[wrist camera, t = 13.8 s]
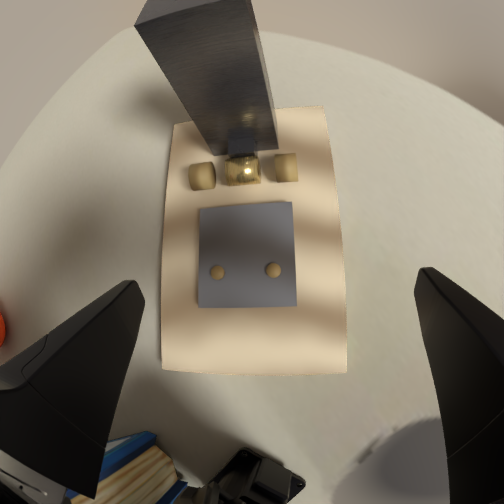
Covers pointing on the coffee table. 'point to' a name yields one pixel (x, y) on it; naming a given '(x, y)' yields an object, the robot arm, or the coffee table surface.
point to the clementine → (2, 330)
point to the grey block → (216, 76)
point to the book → (134, 474)
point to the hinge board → (254, 258)
